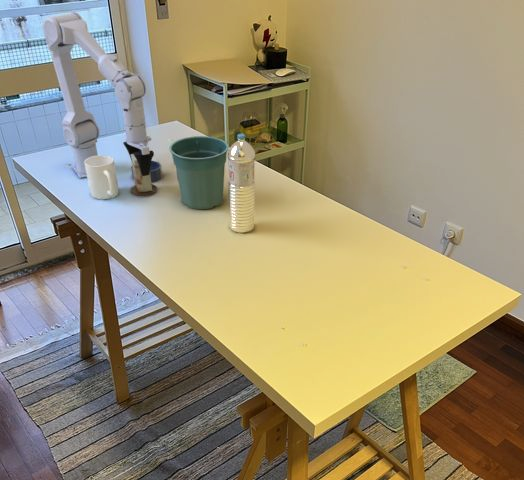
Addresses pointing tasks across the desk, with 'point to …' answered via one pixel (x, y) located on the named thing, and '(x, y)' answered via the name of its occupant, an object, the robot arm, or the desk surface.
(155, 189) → the walnut coaster
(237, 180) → the water bottle
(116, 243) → the desk surface
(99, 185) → the cup
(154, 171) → the blue ring
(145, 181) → the drug facts carton
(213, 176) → the flower pot
